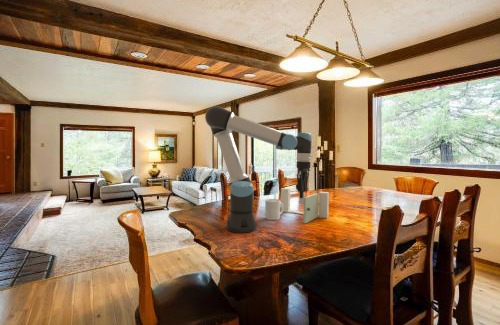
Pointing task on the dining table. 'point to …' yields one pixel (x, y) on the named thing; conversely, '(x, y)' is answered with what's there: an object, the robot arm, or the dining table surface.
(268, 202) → the mug
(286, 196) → the wall frame
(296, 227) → the dining table surface
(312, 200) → the door
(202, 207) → the dining table surface
